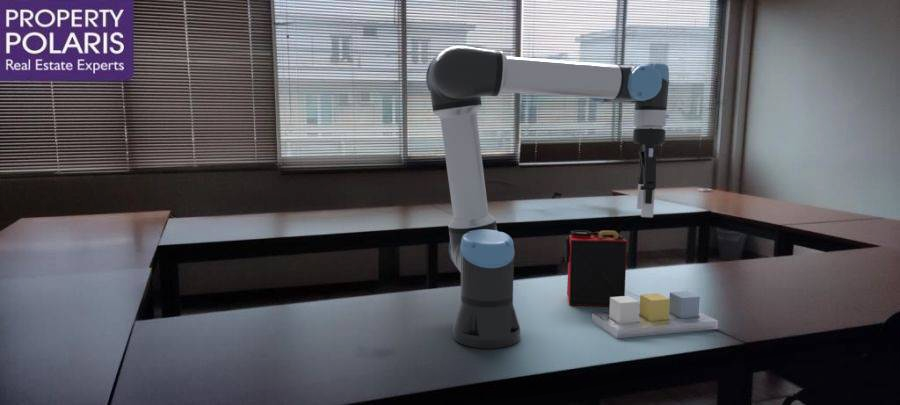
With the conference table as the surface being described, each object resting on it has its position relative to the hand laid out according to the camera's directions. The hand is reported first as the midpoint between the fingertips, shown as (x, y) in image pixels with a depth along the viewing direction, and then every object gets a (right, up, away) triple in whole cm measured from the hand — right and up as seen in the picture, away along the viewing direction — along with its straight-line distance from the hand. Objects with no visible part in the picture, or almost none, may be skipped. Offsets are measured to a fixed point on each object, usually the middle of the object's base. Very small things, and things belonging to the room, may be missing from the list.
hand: (644, 213), depth 150 cm
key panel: (0, -27, -8) cm, 28 cm away
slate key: (+7, -24, -6) cm, 26 cm away
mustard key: (0, -25, -8) cm, 26 cm away
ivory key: (-8, -25, -10) cm, 28 cm away
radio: (-10, -24, +11) cm, 29 cm away
